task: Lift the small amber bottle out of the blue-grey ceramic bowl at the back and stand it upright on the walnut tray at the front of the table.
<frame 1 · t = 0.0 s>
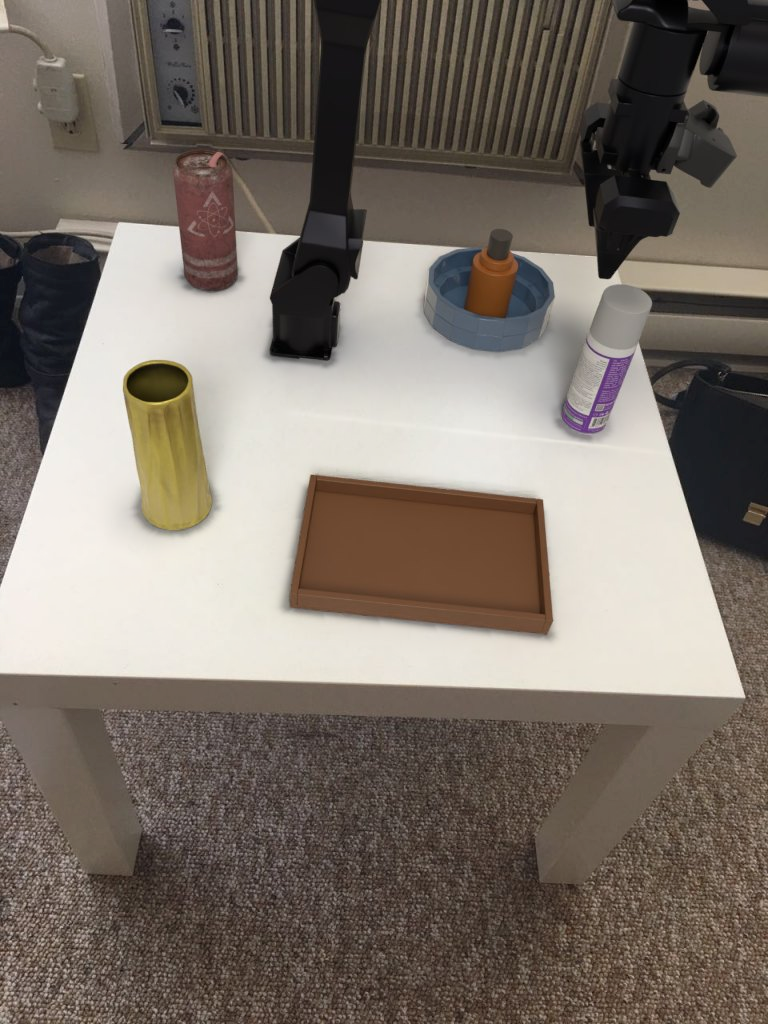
hand: (598, 251, 79), 15 cm above the table, tool pointing down, fingers open, 9 cm apart
tray: (421, 557, 71), on the table
can: (212, 278, 96), on the table
bowl: (484, 315, 96), on the table
vase: (177, 506, 73), on the table
container: (582, 422, 85), on the table
bottle: (484, 312, 95), resting on bowl
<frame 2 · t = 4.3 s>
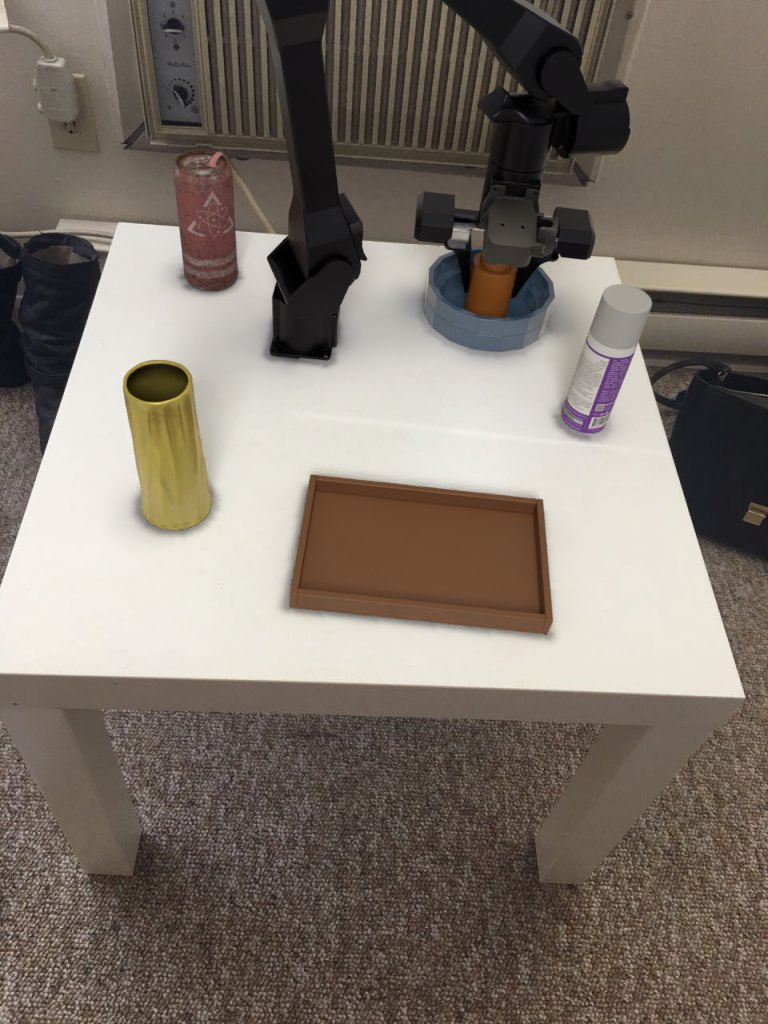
hand: (488, 293, 93), 3 cm above the table, tool pointing down, fingers closed on bottle, 5 cm apart
bottle: (485, 312, 95), resting on bowl, touching gripper
everything else where it was.
when the fingers open (3 cm above the table, at t = 10.7 s): bottle stays where it is, resting on tray.
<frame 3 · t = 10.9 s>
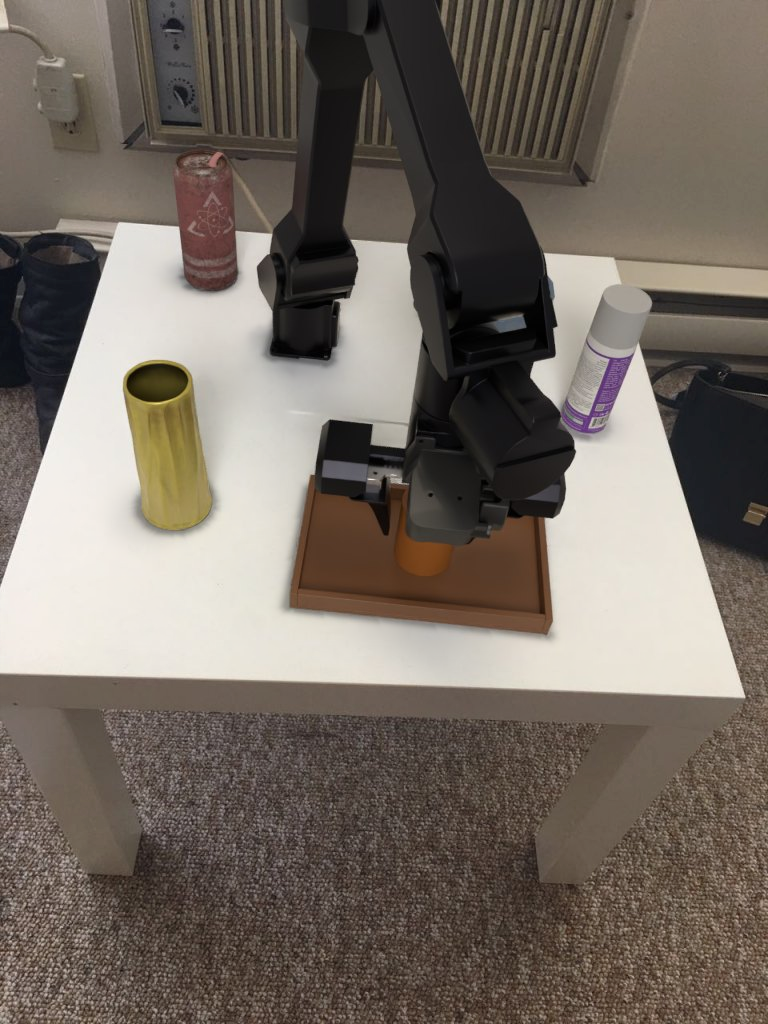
hand: (426, 536, 69), 3 cm above the table, tool pointing down, fingers open, 6 cm apart
bottle: (422, 553, 71), point 1 cm above the table, touching tray
everything else where it was.
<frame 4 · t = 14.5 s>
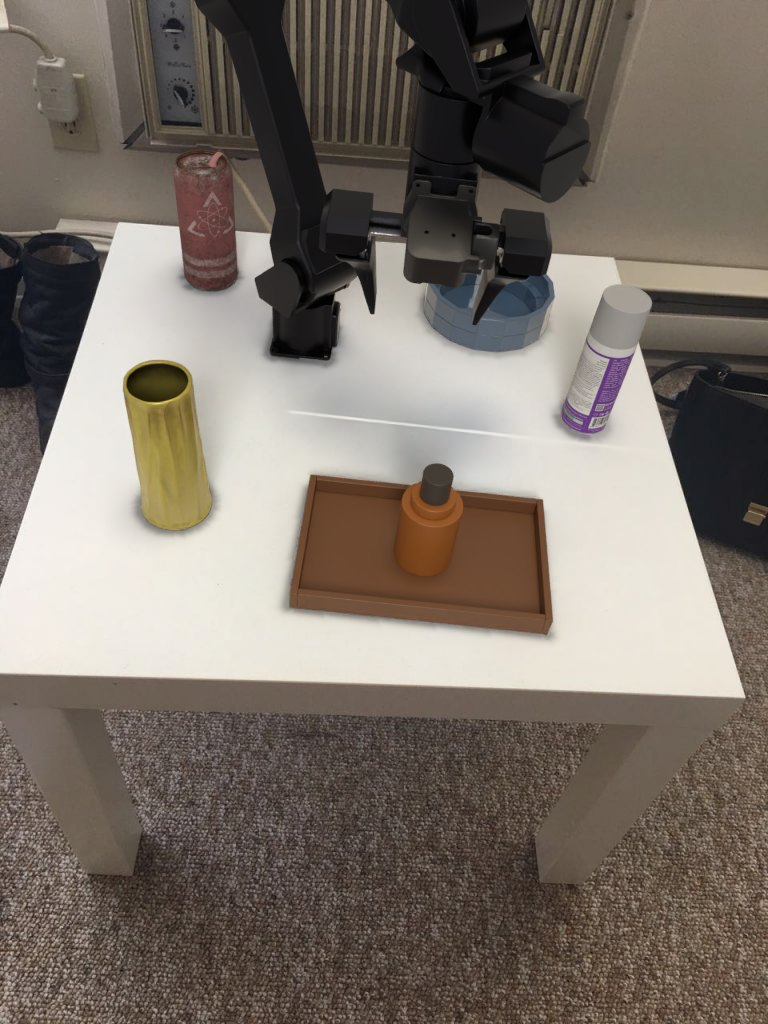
hand: (423, 317, 74), 12 cm above the table, tool pointing down, fingers open, 9 cm apart
nothing on the table moved.
at the end: bottle inside the target area in the tray (0.1 cm from its centre), point 0.5 cm above the tray's base; bottle tilted 0°; the gripper is holding nothing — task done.
